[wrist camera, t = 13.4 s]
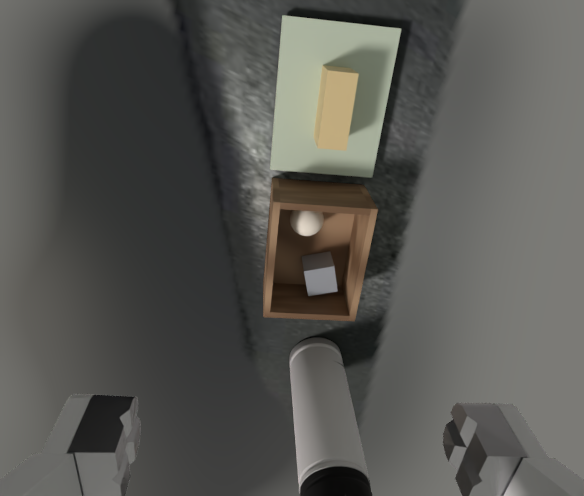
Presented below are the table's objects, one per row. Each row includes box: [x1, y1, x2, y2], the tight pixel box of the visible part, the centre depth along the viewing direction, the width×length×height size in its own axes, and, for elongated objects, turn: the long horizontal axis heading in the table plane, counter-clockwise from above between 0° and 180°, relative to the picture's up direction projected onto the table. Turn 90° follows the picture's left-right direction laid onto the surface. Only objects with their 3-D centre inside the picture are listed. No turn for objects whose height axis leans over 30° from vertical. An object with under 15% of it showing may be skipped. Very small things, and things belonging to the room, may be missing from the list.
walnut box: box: [263, 178, 378, 321], centre depth 43 cm, size 12×9×6 cm
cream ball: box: [290, 210, 324, 236], centre depth 42 cm, size 3×3×3 cm
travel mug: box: [289, 338, 372, 496], centre depth 44 cm, size 6×7×20 cm
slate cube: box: [302, 251, 338, 296], centre depth 45 cm, size 3×3×3 cm
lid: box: [270, 15, 401, 178], centre depth 37 cm, size 13×10×5 cm
